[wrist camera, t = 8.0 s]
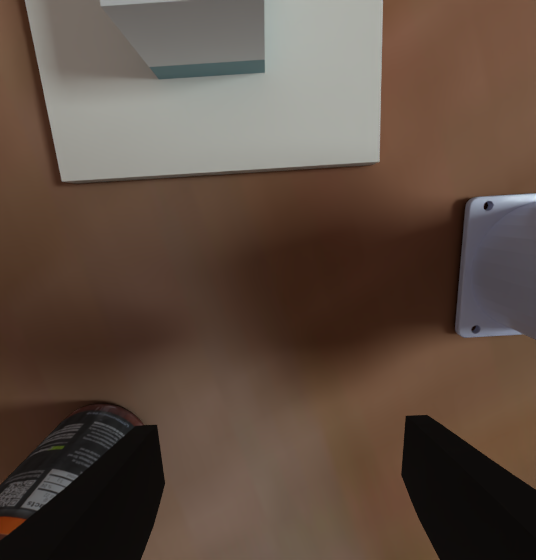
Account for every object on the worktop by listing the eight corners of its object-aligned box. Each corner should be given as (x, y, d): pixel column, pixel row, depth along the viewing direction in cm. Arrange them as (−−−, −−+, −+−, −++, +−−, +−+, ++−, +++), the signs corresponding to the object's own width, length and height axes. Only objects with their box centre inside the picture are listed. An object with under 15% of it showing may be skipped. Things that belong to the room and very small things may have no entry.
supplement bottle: (109, 491, 20) (-78, 823, 9) (44, 433, 19) (-256, 729, 8) (173, 444, 19) (52, 746, 8) (108, 381, 18) (-127, 631, 7)
